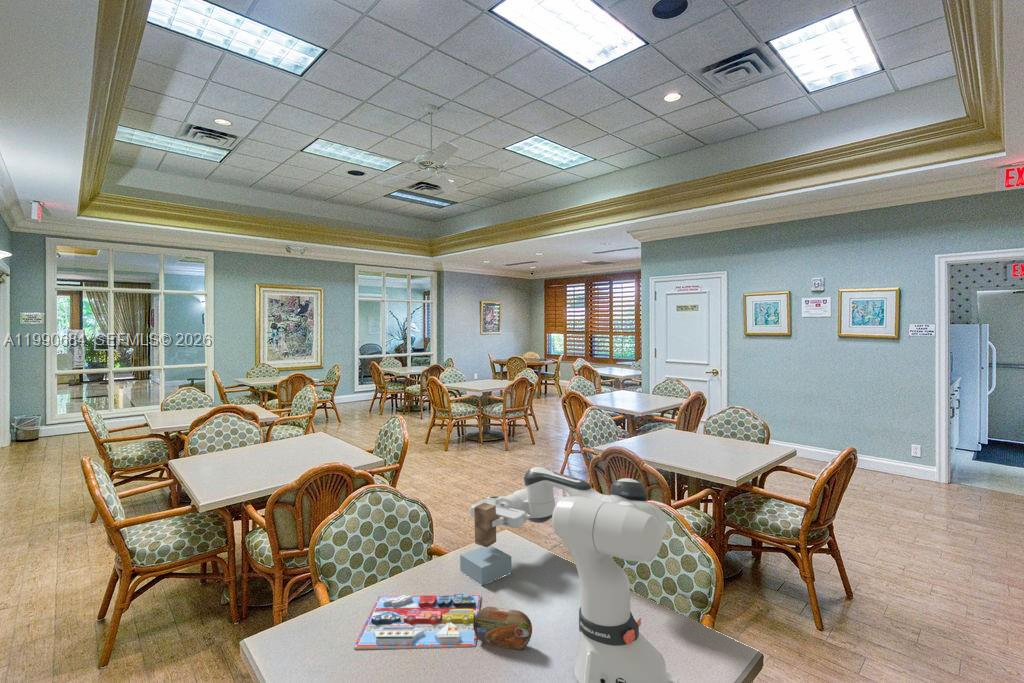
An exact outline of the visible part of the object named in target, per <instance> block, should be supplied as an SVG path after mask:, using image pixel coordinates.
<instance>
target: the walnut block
mask: <svg viewBox="0 0 1024 683" xmlns="http://www.w3.org/2000/svg"><path fill="white" fill-rule="evenodd" d="M474 511H475V521H474V544H475V545H477V546H481V547H483V546H484V547H488V546H490V545H491V546H493V545H494V544H495V543H497V526H495V527H492V526H490V521H491V520H493V519H494V520H496V505H492V504H488V503H482V504H480V505H478V506H476V507H474Z"/></svg>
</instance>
